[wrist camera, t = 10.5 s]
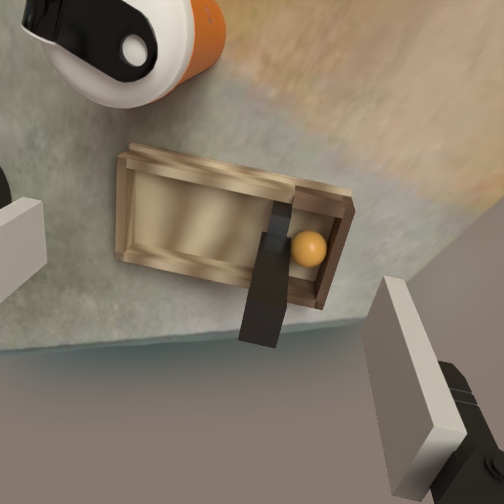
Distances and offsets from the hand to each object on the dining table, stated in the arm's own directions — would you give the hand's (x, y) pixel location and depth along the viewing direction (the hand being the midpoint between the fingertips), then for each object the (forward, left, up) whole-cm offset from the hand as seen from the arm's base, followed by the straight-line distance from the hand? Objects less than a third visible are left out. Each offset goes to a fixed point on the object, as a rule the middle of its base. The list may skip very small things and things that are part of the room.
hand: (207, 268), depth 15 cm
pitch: (-2, -11, -29) cm, 31 cm away
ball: (+7, -11, -26) cm, 29 cm away
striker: (+3, -11, -27) cm, 30 cm away
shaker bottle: (-9, +7, -29) cm, 31 cm away
